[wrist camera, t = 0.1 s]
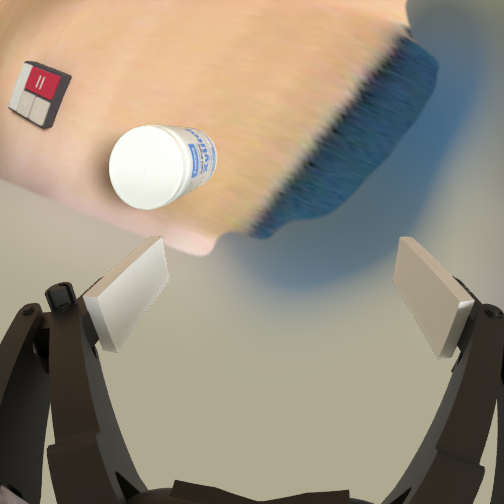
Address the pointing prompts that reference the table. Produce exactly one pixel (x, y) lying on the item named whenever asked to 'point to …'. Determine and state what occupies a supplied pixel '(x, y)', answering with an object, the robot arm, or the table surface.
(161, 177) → the supplement tub
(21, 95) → the calculator
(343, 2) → the table surface
